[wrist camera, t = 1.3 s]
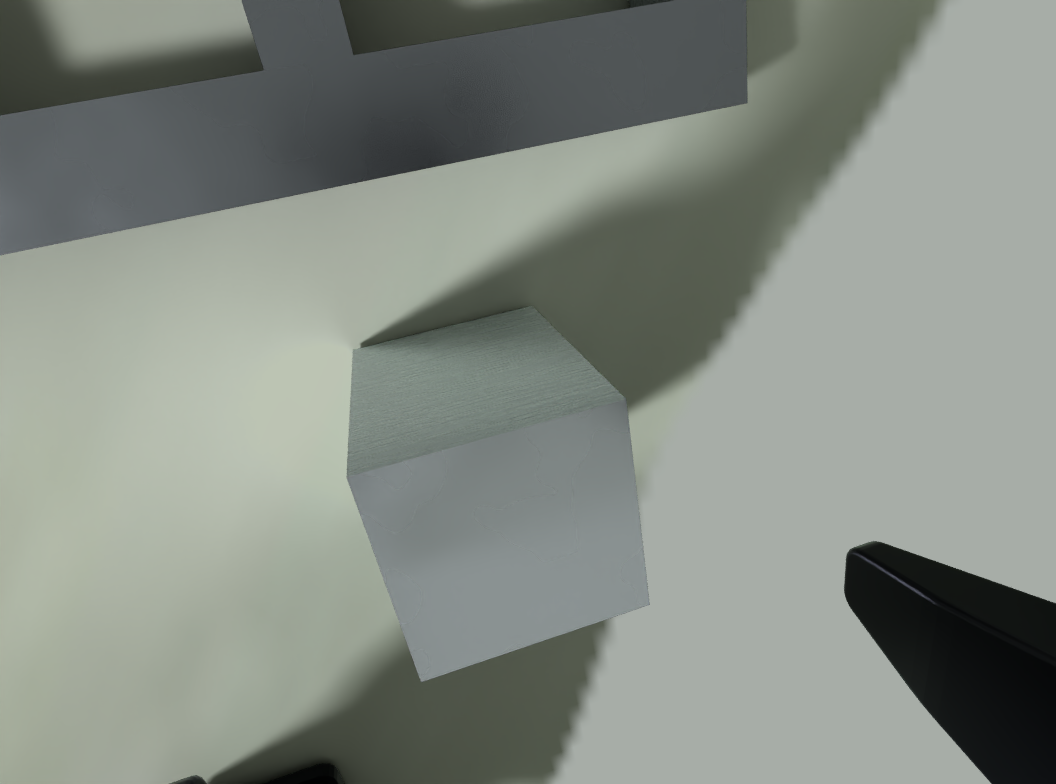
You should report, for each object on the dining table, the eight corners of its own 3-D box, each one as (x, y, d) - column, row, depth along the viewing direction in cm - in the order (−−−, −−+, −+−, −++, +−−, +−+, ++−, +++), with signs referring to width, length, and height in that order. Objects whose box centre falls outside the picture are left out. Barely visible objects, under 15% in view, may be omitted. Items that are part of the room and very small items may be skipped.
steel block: (558, 456, 17) (649, 604, 11) (402, 502, 16) (421, 682, 11) (531, 305, 15) (626, 399, 10) (352, 349, 14) (346, 477, 9)
